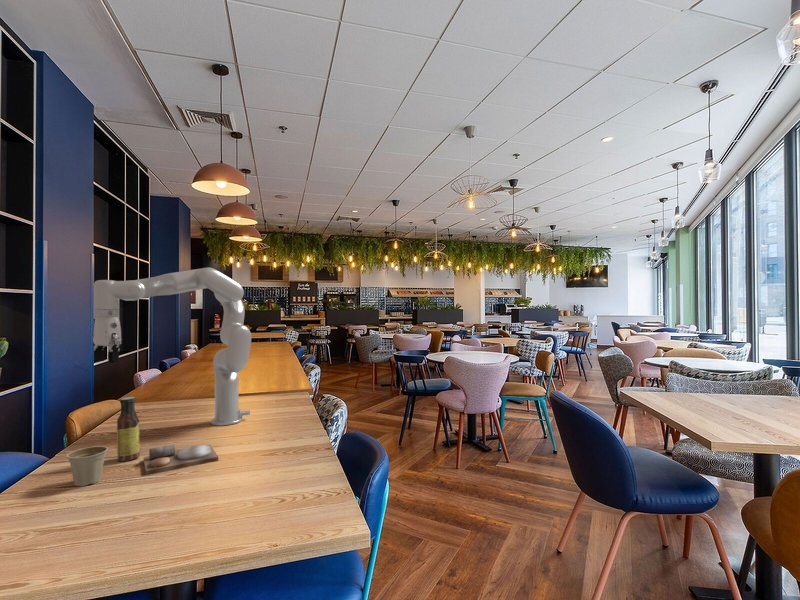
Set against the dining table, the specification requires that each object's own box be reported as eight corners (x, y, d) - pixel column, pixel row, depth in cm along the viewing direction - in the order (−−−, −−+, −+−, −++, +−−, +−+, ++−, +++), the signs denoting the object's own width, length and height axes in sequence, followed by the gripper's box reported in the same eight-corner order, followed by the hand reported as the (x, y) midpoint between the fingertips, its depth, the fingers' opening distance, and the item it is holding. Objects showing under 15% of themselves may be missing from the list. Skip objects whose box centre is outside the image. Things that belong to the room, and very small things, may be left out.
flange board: (210, 448, 144) (210, 435, 145) (218, 460, 133) (218, 446, 133) (143, 460, 133) (143, 446, 133) (145, 475, 122) (145, 460, 122)
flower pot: (62, 492, 111) (62, 460, 111) (70, 479, 119) (71, 449, 119) (104, 485, 115) (104, 454, 115) (110, 473, 123) (110, 444, 123)
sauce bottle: (144, 456, 136) (144, 397, 137) (124, 463, 131) (125, 400, 131) (131, 453, 139) (132, 395, 140) (112, 460, 134) (112, 399, 134)
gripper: (130, 314, 147) (130, 362, 147) (105, 314, 155) (105, 359, 155) (107, 314, 140) (107, 364, 140) (82, 314, 149) (82, 361, 148)
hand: (106, 361), depth 147 cm, fingers open, 9 cm apart
